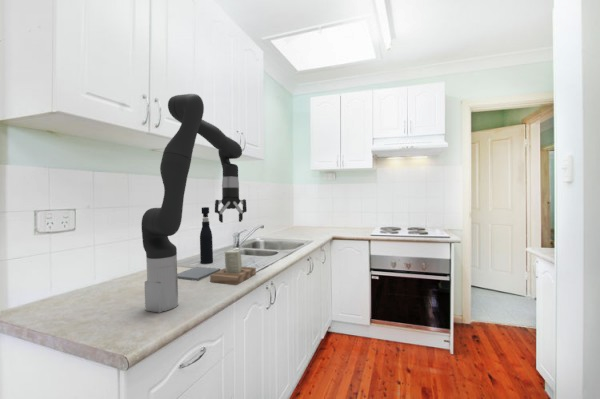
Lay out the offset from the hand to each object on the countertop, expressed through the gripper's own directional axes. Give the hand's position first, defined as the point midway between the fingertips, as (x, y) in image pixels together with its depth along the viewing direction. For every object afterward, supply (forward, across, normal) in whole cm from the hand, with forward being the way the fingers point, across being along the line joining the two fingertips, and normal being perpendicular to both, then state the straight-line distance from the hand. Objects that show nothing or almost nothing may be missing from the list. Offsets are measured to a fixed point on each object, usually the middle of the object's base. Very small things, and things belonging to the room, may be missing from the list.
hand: (231, 222), depth 134 cm
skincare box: (+25, 0, -6) cm, 25 cm away
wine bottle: (+24, -7, +29) cm, 39 cm away
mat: (+24, -14, +8) cm, 29 cm away
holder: (+24, 0, -6) cm, 25 cm away
